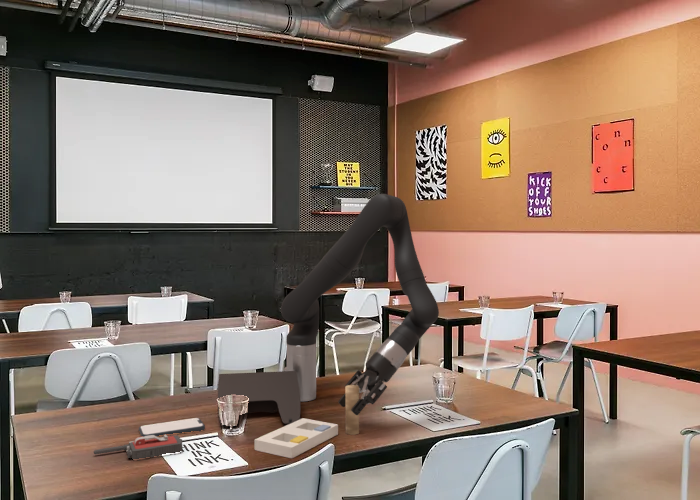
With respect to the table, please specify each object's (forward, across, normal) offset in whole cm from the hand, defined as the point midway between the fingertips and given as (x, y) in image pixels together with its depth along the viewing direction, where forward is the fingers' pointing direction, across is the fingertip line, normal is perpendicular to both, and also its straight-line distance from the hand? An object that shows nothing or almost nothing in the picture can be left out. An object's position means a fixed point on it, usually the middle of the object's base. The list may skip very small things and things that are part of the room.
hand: (347, 408), depth 161 cm
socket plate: (+14, +1, -5) cm, 15 cm away
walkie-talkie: (+40, -8, -30) cm, 51 cm away
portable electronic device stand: (+17, -23, -7) cm, 29 cm away
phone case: (+34, -22, -24) cm, 47 cm away
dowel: (+4, 0, +6) cm, 7 cm away
